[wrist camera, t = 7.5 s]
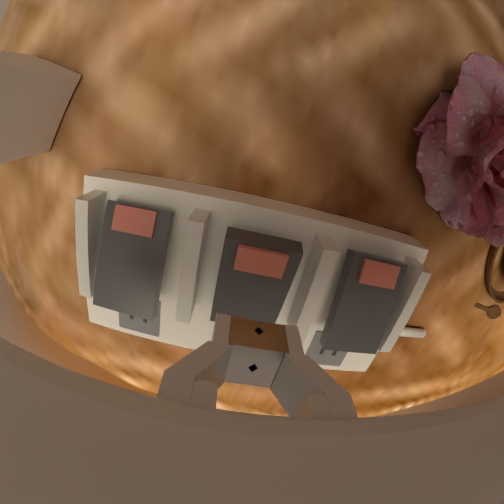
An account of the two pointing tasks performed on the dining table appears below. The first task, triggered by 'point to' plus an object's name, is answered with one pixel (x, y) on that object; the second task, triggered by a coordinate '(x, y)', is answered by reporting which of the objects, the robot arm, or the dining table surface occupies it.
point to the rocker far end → (132, 258)
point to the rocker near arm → (363, 303)
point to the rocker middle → (255, 275)
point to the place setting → (497, 296)
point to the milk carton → (31, 103)
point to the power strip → (210, 251)
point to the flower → (467, 151)
